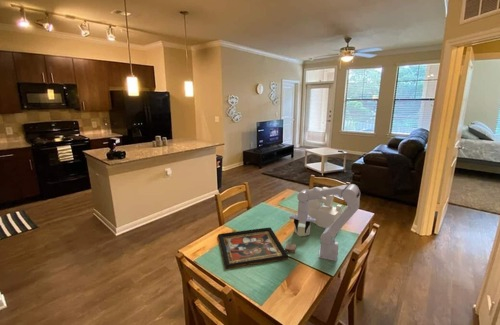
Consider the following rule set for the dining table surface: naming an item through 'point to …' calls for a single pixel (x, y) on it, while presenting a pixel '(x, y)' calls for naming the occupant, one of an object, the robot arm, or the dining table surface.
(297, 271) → the dining table surface
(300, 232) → the sage block
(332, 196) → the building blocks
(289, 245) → the walnut base
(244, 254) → the framed icon painting
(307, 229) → the supplement box
